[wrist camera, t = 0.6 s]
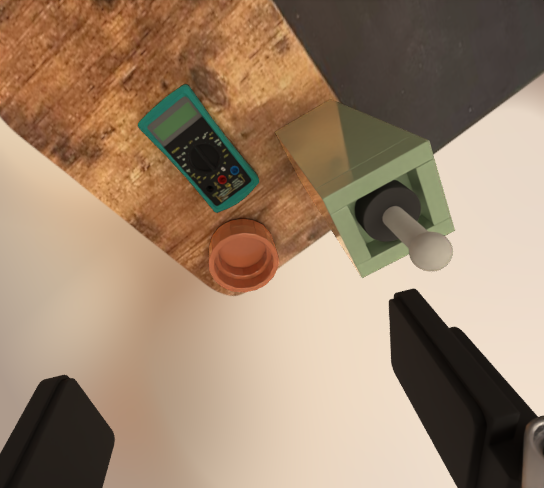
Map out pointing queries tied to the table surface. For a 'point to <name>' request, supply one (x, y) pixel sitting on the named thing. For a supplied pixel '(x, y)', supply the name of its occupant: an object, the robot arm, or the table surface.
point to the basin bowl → (242, 255)
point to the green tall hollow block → (362, 175)
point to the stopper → (402, 224)
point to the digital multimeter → (199, 149)
